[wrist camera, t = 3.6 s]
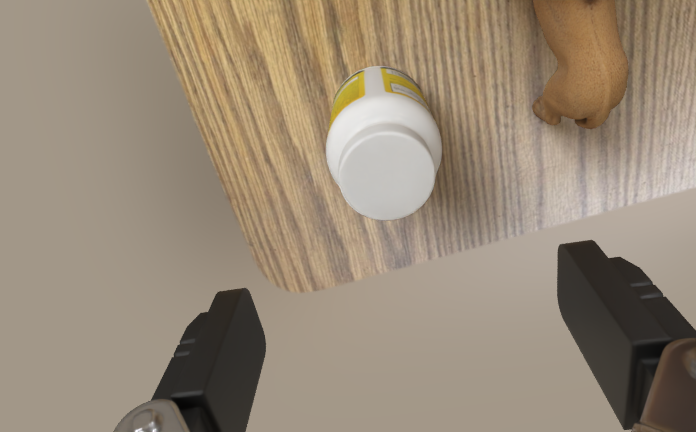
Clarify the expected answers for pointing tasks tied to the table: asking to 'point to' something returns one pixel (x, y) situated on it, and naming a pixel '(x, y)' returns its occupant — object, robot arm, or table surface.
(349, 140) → the supplement bottle
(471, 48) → the table surface
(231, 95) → the table surface
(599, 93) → the lion figurine
